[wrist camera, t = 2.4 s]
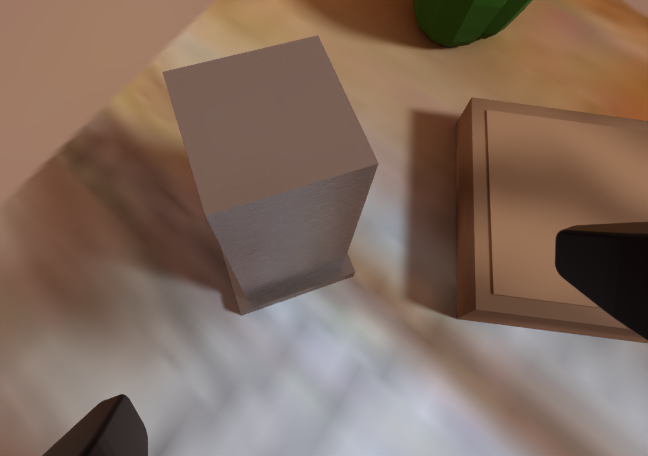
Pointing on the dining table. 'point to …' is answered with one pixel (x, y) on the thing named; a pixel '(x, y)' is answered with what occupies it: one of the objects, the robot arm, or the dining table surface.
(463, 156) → the stand
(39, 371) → the dining table surface
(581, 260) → the robot arm
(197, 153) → the plate
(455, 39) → the bell pepper
